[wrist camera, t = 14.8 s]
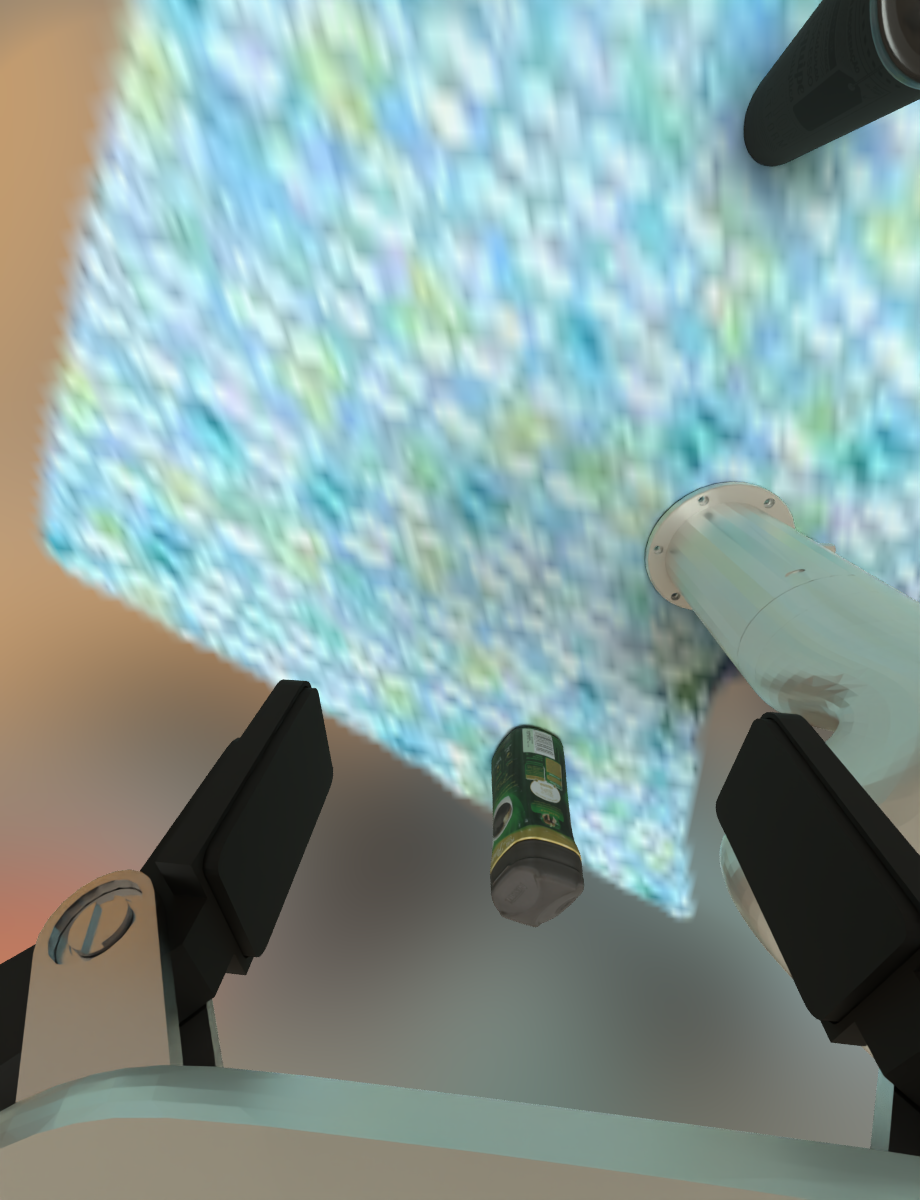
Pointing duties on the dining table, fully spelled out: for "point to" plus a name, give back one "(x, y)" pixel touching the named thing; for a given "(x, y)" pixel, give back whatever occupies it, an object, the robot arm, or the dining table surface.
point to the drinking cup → (836, 77)
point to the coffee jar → (532, 830)
